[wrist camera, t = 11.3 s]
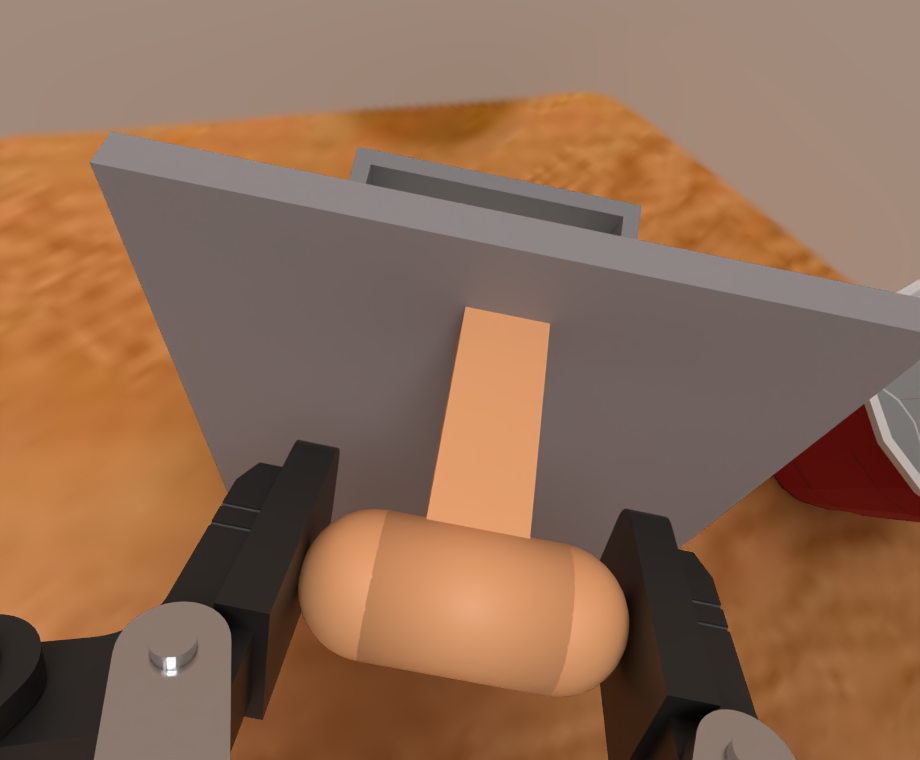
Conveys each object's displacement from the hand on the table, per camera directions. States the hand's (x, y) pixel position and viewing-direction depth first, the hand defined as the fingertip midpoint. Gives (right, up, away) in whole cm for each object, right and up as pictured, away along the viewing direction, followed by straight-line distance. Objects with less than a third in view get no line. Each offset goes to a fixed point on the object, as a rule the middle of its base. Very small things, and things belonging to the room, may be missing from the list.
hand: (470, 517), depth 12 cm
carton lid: (0, 0, +7) cm, 7 cm away
